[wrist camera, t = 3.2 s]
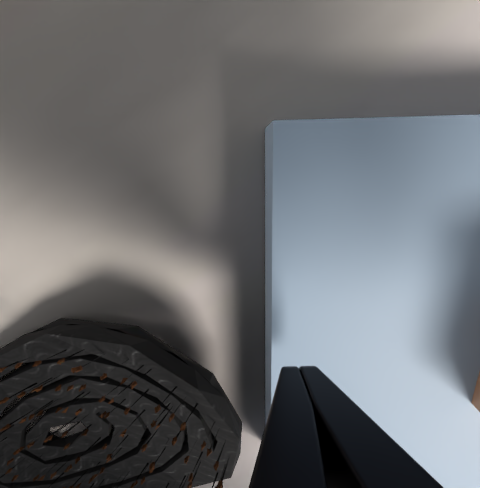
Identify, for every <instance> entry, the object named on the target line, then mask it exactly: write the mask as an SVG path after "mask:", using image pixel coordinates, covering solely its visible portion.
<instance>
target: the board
mask: <svg viewBox="0 0 480 488" xmlns="http://www.w3.org/2000/svg"><path fill="white" fill-rule="evenodd" d="M284 366H297V367H298V368H299V367H300V366H316V367H318V368H319V369H320V370H321V371H322V372H323V373H324V374H325V375H326V376H327V377H328V378H329V379H330V380H331V381H332V382H333V383H335V384H336V385H337V386H338V387H339V388H340V389H341V390H342V391H343V392H344V393H345V394H346V395H347V396H348V397H349V398H350V399H351V400H352V401H353V402H354V403H356V404H357V405H358V406H359V407H360V408H361V409H362V410H363V411H364V412H365V413H366V414H367V415H368V416H369V417H370V418H371V419H372V420H373V421H374V422H375V423H376V424H378V425H379V426H380V427H381V428H382V429H383V430H384V431H385V432H386V433H387V434H388V435H389V436H390V437H391V438H392V439H393V440H394V441H395V442H396V443H397V444H399V445H400V446H401V447H402V448H403V449H404V450H405V451H406V452H407V453H408V454H409V455H410V456H411V457H412V458H413V459H414V460H415V461H416V462H417V463H418V464H420V465H421V466H422V467H423V468H424V469H425V470H426V471H427V472H428V473H429V474H430V475H431V476H432V477H433V478H434V479H435V480H436V481H437V482H438V483H439V484H440V485H442V486H443V487H444V488H480V412H479V411H478V410H477V409H476V408H475V407H474V406H473V404H472V403H471V401H472V397H473V394H474V390H475V386H476V382H477V379H478V375H479V371H480V114H479V115H444V116H408V117H372V118H337V119H301V120H273V121H272V122H271V123H270V124H269V125H268V126H267V127H266V128H265V426H266V422H267V419H268V415H269V411H270V408H271V404H272V400H273V396H274V393H275V389H276V385H277V382H278V378H279V374H280V371H281V368H282V367H284Z"/></svg>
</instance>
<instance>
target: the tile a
mask: <svg viewBox="0 0 480 488" xmlns="http://www.w3.org/2000/svg"><path fill="white" fill-rule="evenodd" d="M471 403H472V404H473V406H474V407H475V408H476V409H477V410H478V411H479V412H480V371H479V375H478V379H477V382H476V386H475V390H474V394H473V397H472V401H471Z"/></svg>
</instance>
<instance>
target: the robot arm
mask: <svg viewBox="0 0 480 488" xmlns="http://www.w3.org/2000/svg"><path fill="white" fill-rule="evenodd" d="M249 488H444V487H443V486H442V485H440V484H439V483H438V482H437V481H436V480H435V479H434V478H433V477H432V476H431V475H430V474H429V473H428V472H427V471H426V470H425V469H424V468H423V467H422V466H421V465H420V464H418V463H417V462H416V461H415V460H414V459H413V458H412V457H411V456H410V455H409V454H408V453H407V452H406V451H405V450H404V449H403V448H402V447H401V446H400V445H399V444H397V443H396V442H395V441H394V440H393V439H392V438H391V437H390V436H389V435H388V434H387V433H386V432H385V431H384V430H383V429H382V428H381V427H380V426H379V425H378V424H376V423H375V422H374V421H373V420H372V419H371V418H370V417H369V416H368V415H367V414H366V413H365V412H364V411H363V410H362V409H361V408H360V407H359V406H358V405H357V404H356V403H354V402H353V401H352V400H351V399H350V398H349V397H348V396H347V395H346V394H345V393H344V392H343V391H342V390H341V389H340V388H339V387H338V386H337V385H336V384H335V383H333V382H332V381H331V380H330V379H329V378H328V377H327V376H326V375H325V374H324V373H323V372H322V371H321V370H320V369H319V368H318V367H316V366H300V367H299V368H298V367H297V366H284V367H282V368H281V371H280V374H279V378H278V382H277V385H276V389H275V393H274V396H273V400H272V404H271V408H270V411H269V415H268V419H267V422H266V426H265V430H264V434H263V437H262V441H261V445H260V448H259V452H258V456H257V459H256V463H255V467H254V471H253V474H252V478H251V482H250V485H249Z"/></svg>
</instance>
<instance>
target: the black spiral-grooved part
mask: <svg viewBox="0 0 480 488" xmlns="http://www.w3.org/2000/svg"><path fill="white" fill-rule="evenodd" d="M38 330H39V331H37V330H36V332H35V331H34V332H32V333H29V334H25V335H23V336H21V337H20V338H18V339H16V340H15V341H13V342H11V343H10V344H8V345H6V346H5V347H3V348H2V349H0V378H1V377H2V376H4V375H5V374H7V373H8V372H10V371H11V370H13V369H14V368H15V371H14V372H12V373H11V374H10V375H8V376H7V377H5V378H4V379H2V380H1V381H0V414H1V413H2V411H3V410H4V409H5V408H6V407H7V406H8V405H9V404H10V402H11V401H12V400H14V399H16V398H21V397H22V396H24V395H25V394H28V393H30V394H28V395H27V396H25V397H24V398H22V399H21V400H20V401H19V402H18V403H17V404H16V405H14V406H13V407H12V408H11V409H10V410H9V411H8V412H7V413H5V414H4V415H3V416H2V418H1V419H0V488H191V487H195V486H199V485H203V484H207V483H211V482H214V483H215V481H219V480H220V481H219V482H218V485H217V486H216V487H215V488H222V487H223V485H222V483H223V482H222V481H223V479H227V478H231V476H232V473H233V471H234V468H235V465H236V463H237V460H238V458H239V455H240V449H241V432H242V421H241V419H240V418H239V416H238V414H237V413H236V411H235V409H234V408H233V406H232V404H231V403H230V401H229V399H228V398H227V396H226V394H225V393H224V391H223V389H222V388H221V386H220V384H219V383H218V381H217V379H216V378H215V376H214V374H213V373H212V372H210V371H209V370H207V369H205V368H204V367H202V366H201V365H199V364H197V363H196V362H194V361H193V360H191V359H190V358H188V357H186V356H185V355H183V354H182V353H180V352H178V351H177V350H175V349H174V348H172V347H170V346H169V345H167V344H166V343H164V342H162V341H161V340H159V339H158V338H156V337H155V336H153V335H151V334H150V333H148V332H147V331H145V330H143V329H142V328H140V327H139V326H132V325H122V324H112V323H103V322H93V321H84V320H74V319H65V318H61V319H59V320H57V321H55V322H53V323H50V324H48V325H46V326H44V327H42V328H40V329H38ZM26 362H28V364H27V363H26ZM22 363H26V364H24V365H22V366H21V364H22ZM20 366H21V367H20ZM18 367H20V368H18ZM17 368H18V369H17ZM16 369H17V370H16ZM48 408H49V409H48ZM46 409H48V410H47V411H46V413H45V414H44V415H43V416H42V417H41V418H40V420H39V421H38V422H37V423H36V424H35V425H34V426H33V427H32V429H31V430H30V431H29V432H28V434H27V432H26V431H27V427H28V426H29V424H30V423H31V421H32V420H33V419H34V418H35V417H36V416H39V415H42V413H43V411H44V410H46ZM80 421H81V422H82V423H83V424H84V425H85V426H86V427H87V428H86V429H85V430H84V431H83V432H79V433H76V434H73V435H70V436H68V437H65V438H62V437H64V436H66V435H67V433H68V431H70V430H71V429H72V428H73V427H74V426H76V425H77V424H78V423H79V422H80ZM75 422H78V423H77V424H75V425H74V426H73V427H71V428H70V429H69V430H67V431H65V432H64V433H63V434H62V437H61V438H58V437H57V436H55V435H53V434H54V433H55V432H56V433H57V432H58V430H59V429H60V428H59V429H58V430H57V431H55V432H54V433H53V434H52V433H50V432H49V431H50V428H51V427H55V426H60V425H63V426H64V425H65V424H66V425H67V424H70V423H75ZM66 425H65V426H66ZM63 426H62V427H61V429H62V428H63ZM65 426H64V427H65ZM113 426H115V427H114V428H113V429H112V427H113ZM186 426H187V430H186ZM146 428H147V429H146ZM61 429H60V430H61ZM111 429H112V430H111ZM145 429H146V430H145ZM113 431H114V432H113ZM111 432H113V434H112V435H109V434H110V433H111ZM186 433H187V434H186ZM108 435H109V436H108ZM142 439H143V440H142ZM140 440H142V441H140ZM214 483H213V486H214ZM213 486H212V488H213Z"/></svg>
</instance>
